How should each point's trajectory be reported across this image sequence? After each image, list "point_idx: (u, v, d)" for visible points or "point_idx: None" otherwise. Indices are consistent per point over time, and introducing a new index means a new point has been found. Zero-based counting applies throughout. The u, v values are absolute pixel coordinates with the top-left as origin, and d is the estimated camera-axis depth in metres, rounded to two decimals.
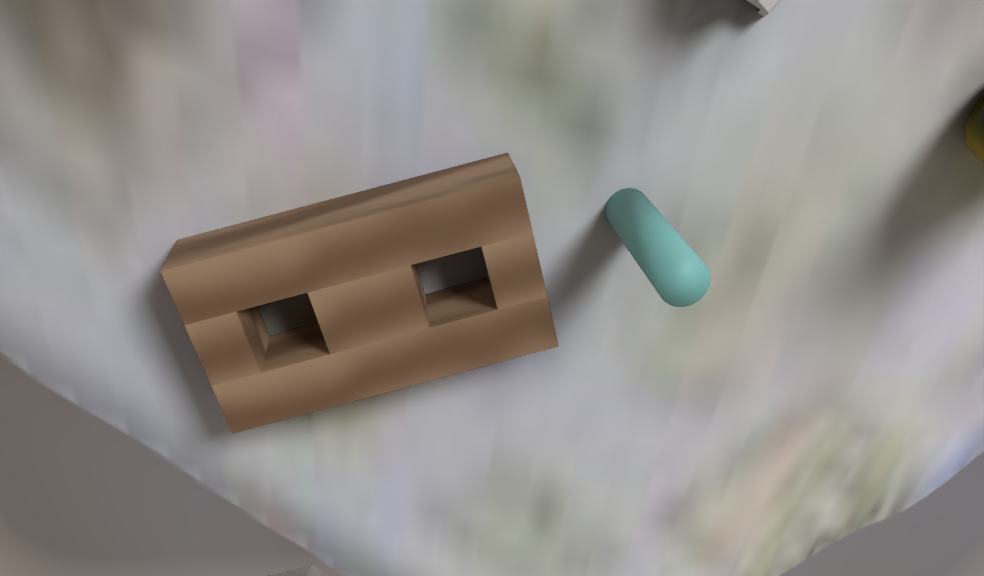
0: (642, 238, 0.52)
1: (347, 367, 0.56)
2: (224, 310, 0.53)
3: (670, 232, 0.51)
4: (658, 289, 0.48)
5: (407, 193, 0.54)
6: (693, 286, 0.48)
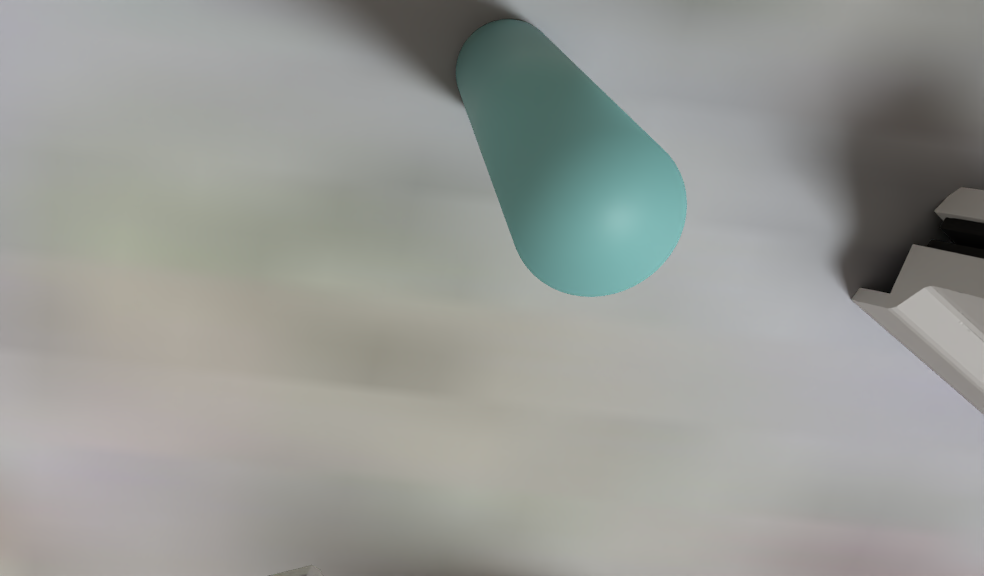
0: (598, 87, 0.18)
1: None
2: None
3: None
4: (580, 132, 0.14)
5: None
6: (581, 247, 0.15)
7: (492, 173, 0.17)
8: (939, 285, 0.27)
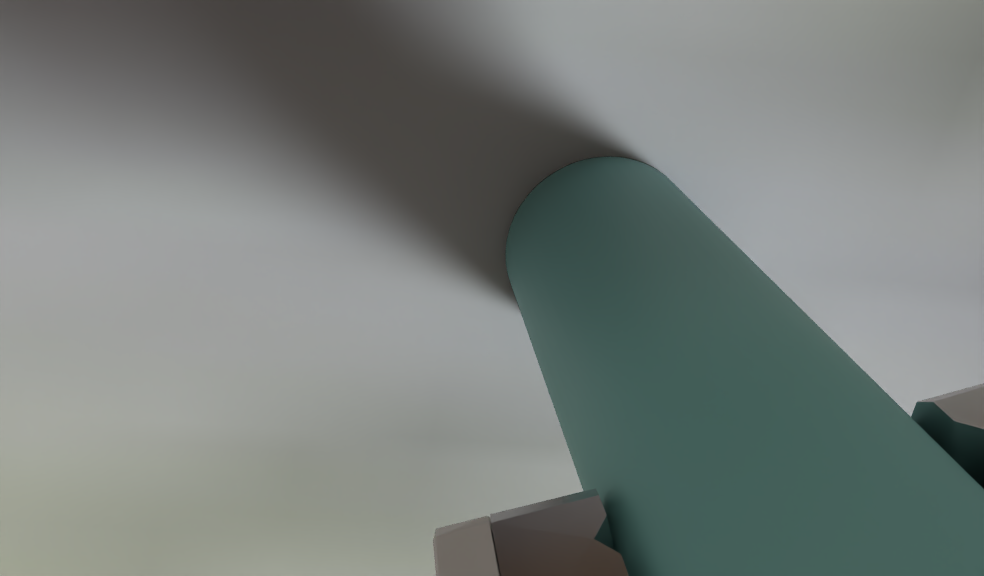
0: (980, 486, 0.06)
1: None
2: None
3: None
4: None
5: None
6: None
7: None
8: None
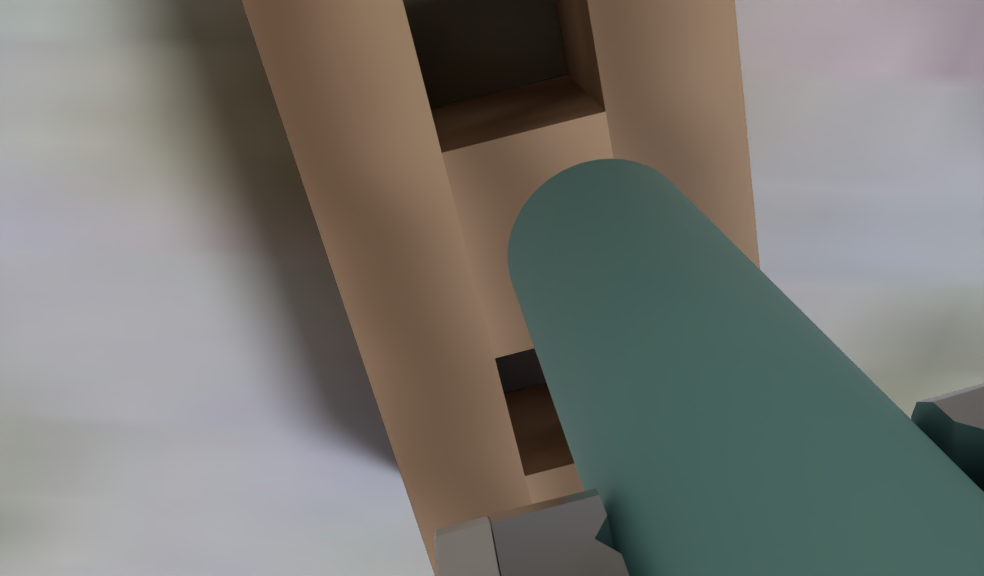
0: None
1: (404, 189, 0.23)
2: None
3: None
4: None
5: None
6: None
7: None
8: None
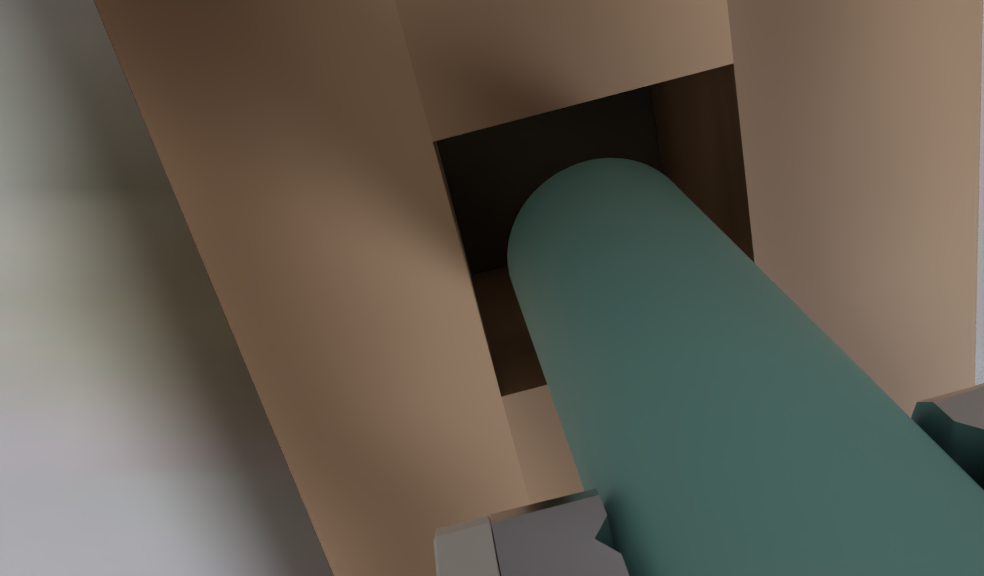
0: (983, 490, 0.06)
1: (440, 450, 0.15)
2: (747, 15, 0.12)
3: None
4: None
5: None
6: None
7: None
8: None
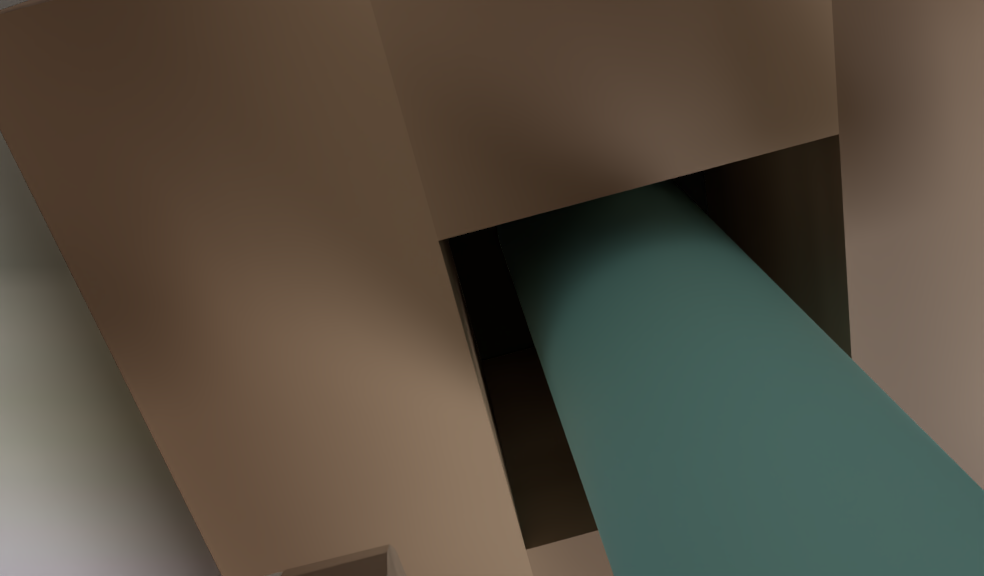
0: (877, 385, 0.08)
1: None
2: (860, 71, 0.09)
3: None
4: None
5: None
6: None
7: None
8: None
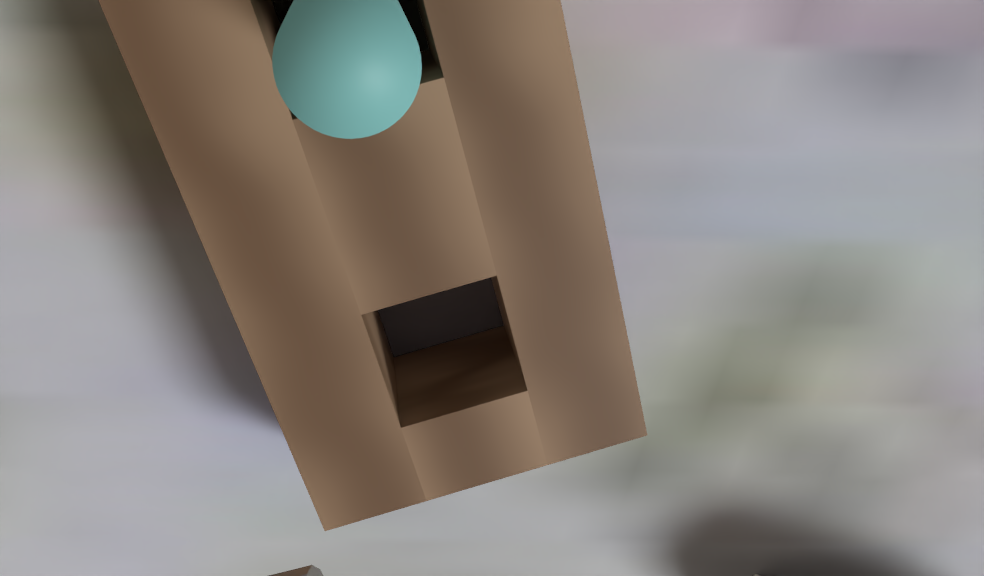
0: None
1: (260, 155, 0.25)
2: None
3: None
4: None
5: None
6: (336, 94, 0.18)
7: None
8: None
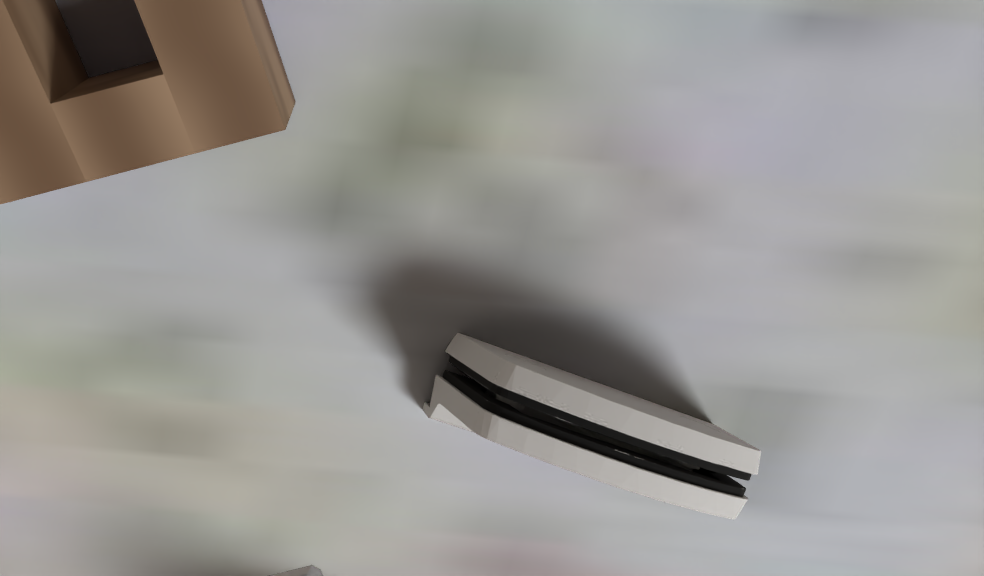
0: None
1: None
2: None
3: None
4: None
5: None
6: None
7: None
8: (441, 403, 0.44)
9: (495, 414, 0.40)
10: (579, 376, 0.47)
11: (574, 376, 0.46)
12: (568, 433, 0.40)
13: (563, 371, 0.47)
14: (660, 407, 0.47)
